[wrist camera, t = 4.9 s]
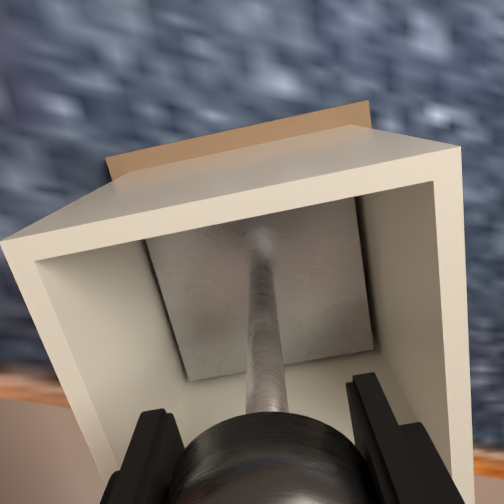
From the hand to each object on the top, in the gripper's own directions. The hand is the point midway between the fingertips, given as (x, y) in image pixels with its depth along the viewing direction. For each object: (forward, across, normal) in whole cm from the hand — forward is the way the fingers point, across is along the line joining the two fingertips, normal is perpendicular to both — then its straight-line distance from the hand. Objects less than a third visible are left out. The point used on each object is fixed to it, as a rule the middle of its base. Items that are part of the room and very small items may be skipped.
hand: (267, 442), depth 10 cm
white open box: (+15, 0, 0) cm, 15 cm away
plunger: (+11, 0, 0) cm, 11 cm away
